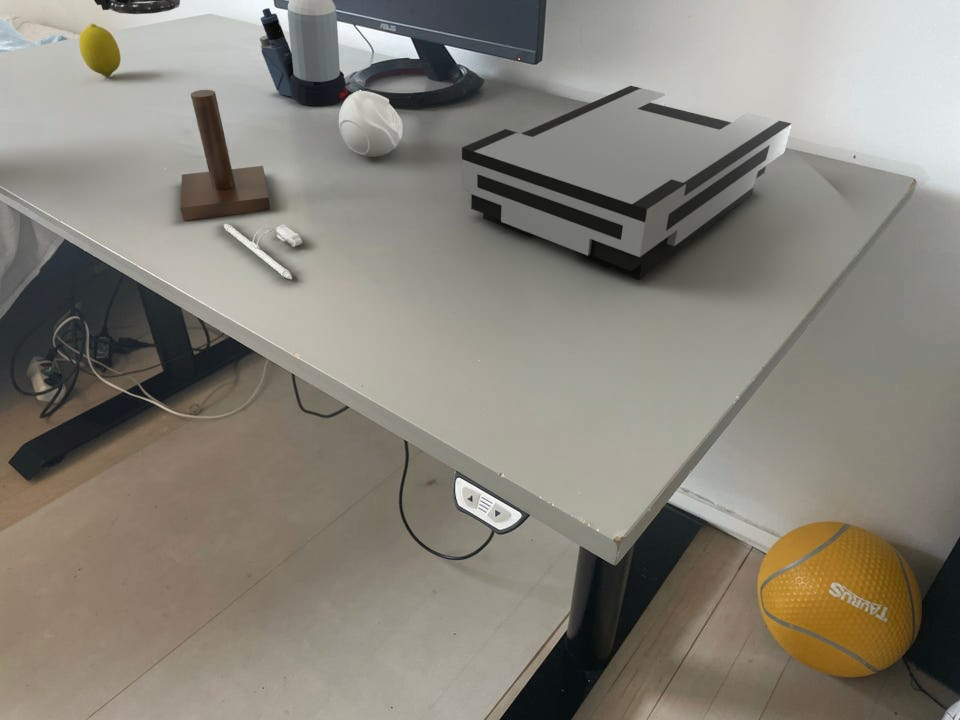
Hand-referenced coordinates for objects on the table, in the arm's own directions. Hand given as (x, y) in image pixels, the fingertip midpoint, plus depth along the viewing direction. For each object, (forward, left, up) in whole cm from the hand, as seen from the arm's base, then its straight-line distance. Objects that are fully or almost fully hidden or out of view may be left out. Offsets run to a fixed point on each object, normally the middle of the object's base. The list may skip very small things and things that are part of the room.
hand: (114, 7), depth 89 cm
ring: (+4, 0, 0) cm, 4 cm away
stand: (+10, -27, -15) cm, 32 cm away
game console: (+52, -40, -15) cm, 68 cm away
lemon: (-7, +25, -15) cm, 30 cm away
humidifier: (+24, +6, -14) cm, 29 cm away
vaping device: (+20, +8, -15) cm, 26 cm away
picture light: (+14, -40, -15) cm, 45 cm away
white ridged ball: (+28, -19, -15) cm, 37 cm away
